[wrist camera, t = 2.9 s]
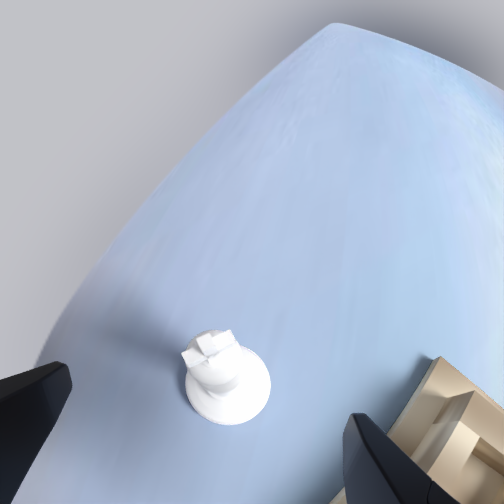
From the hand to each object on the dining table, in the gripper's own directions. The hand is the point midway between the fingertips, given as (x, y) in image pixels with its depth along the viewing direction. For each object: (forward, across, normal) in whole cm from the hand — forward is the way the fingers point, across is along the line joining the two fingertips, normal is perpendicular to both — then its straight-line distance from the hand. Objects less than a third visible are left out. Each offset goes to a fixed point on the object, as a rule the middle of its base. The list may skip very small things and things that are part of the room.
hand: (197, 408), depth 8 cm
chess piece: (+8, 0, +6) cm, 10 cm away
